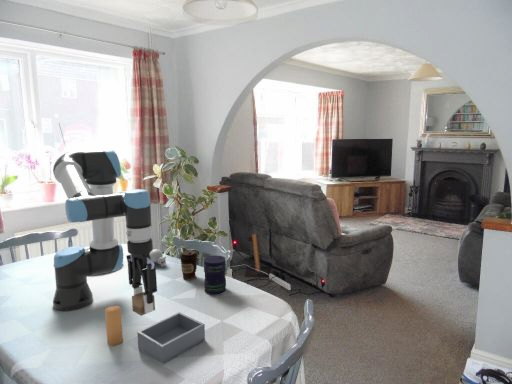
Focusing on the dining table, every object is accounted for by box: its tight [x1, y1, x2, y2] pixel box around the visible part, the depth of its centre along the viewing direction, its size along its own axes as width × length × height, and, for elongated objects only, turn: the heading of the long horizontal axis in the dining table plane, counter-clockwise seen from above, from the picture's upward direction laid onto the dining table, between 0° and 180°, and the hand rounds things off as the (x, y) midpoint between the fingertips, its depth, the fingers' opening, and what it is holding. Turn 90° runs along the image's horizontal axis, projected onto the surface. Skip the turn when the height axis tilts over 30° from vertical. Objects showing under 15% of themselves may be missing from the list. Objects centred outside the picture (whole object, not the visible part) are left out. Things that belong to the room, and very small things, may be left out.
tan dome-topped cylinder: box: [104, 305, 124, 347], centre depth 129 cm, size 5×5×12 cm
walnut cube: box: [131, 291, 156, 317], centre depth 120 cm, size 5×5×5 cm
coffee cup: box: [179, 250, 198, 281], centre depth 184 cm, size 9×8×13 cm
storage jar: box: [203, 254, 227, 296], centre depth 169 cm, size 10×10×15 cm
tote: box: [136, 311, 206, 365], centre depth 127 cm, size 18×14×6 cm
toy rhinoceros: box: [150, 248, 167, 268], centre depth 201 cm, size 7×12×8 cm, turn 52°
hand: (144, 309), depth 120 cm, fingers closed on walnut cube, 5 cm apart
